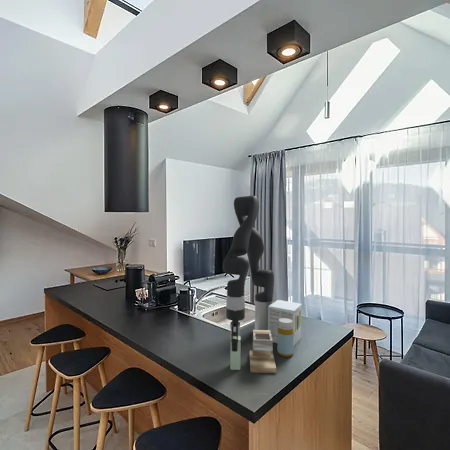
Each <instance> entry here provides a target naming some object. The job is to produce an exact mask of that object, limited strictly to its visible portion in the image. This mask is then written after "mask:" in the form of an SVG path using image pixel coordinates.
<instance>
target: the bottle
mask: <svg viewBox="0 0 450 450" xmlns="http://www.w3.org/2000/svg"><path fill="white" fill-rule="evenodd" d="M294 347H295V346H294V331H293V320H291V319H289V318H280V319H279V328H278V343H277V348H276V349H277V354H278V355H279V356H281V357H285V358H289V357H292V356H293V355H294Z"/></svg>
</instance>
